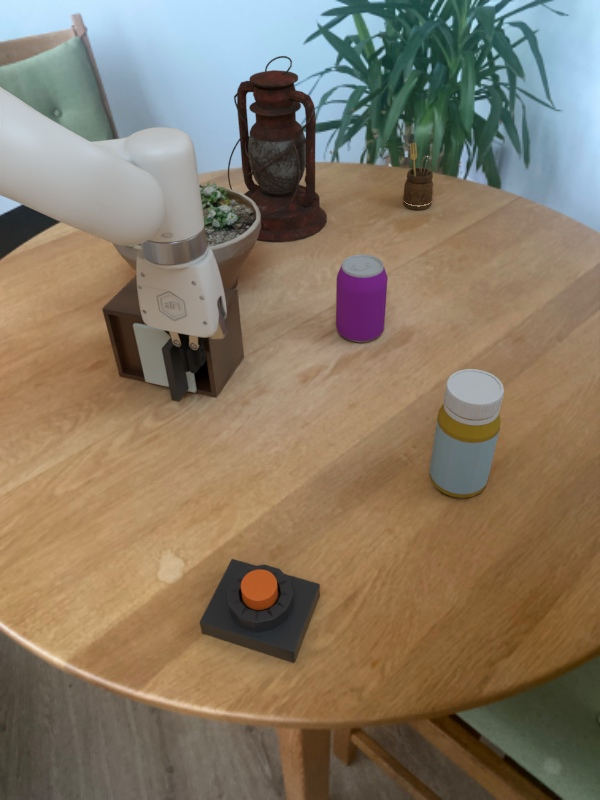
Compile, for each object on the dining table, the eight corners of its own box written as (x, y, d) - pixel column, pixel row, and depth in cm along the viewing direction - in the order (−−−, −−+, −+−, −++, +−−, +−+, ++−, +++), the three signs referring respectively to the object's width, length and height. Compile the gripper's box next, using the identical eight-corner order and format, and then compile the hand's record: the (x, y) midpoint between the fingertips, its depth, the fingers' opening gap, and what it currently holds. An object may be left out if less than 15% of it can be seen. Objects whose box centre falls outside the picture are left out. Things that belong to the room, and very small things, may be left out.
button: (236, 604, 67) (234, 594, 66) (250, 575, 69) (249, 565, 68) (270, 614, 66) (269, 605, 65) (283, 584, 68) (282, 574, 67)
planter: (188, 237, 133) (177, 163, 123) (292, 272, 122) (289, 193, 112) (90, 296, 117) (69, 217, 108) (200, 342, 106) (187, 258, 97)
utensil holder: (414, 213, 139) (419, 155, 131) (396, 202, 143) (400, 145, 135) (437, 206, 141) (443, 149, 133) (419, 196, 145) (424, 139, 137)
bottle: (441, 452, 87) (456, 359, 77) (494, 471, 84) (516, 378, 74) (419, 487, 82) (432, 394, 73) (474, 509, 80) (496, 415, 70)
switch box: (201, 633, 68) (197, 612, 66) (233, 570, 74) (230, 548, 71) (294, 663, 66) (293, 642, 63) (320, 595, 71) (319, 573, 69)
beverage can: (372, 313, 111) (376, 248, 103) (391, 339, 106) (397, 272, 98) (329, 322, 110) (329, 257, 102) (345, 349, 104) (347, 281, 96)
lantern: (215, 227, 136) (196, 67, 117) (269, 193, 148) (260, 42, 128) (293, 251, 128) (287, 83, 108) (344, 212, 140) (347, 55, 120)
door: (185, 406, 93) (175, 348, 87) (134, 394, 96) (120, 337, 89) (196, 390, 96) (187, 332, 89) (147, 379, 98) (134, 322, 92)
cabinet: (216, 397, 96) (207, 328, 88) (119, 376, 100) (101, 308, 93) (244, 357, 103) (237, 289, 95) (151, 338, 108) (138, 272, 100)
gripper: (100, 248, 77) (131, 372, 90) (218, 267, 73) (234, 395, 85) (134, 219, 83) (158, 340, 95) (245, 236, 79) (256, 360, 91)
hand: (194, 366), depth 90 cm, fingers closed
